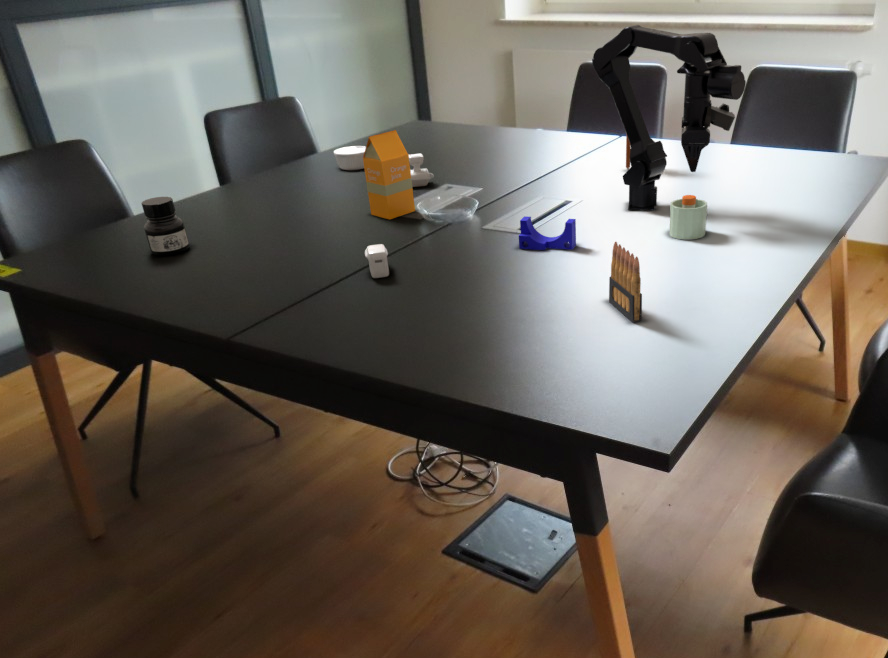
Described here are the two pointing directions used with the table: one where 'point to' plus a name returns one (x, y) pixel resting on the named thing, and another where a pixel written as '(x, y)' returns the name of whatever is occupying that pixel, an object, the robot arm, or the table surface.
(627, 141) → the magnifying glass
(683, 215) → the pen holder
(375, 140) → the orange juice
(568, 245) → the blue mounting bracket
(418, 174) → the stamp
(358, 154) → the ramekin
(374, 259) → the power adapter
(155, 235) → the ink bottle
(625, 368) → the table surface
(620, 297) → the ammunition clip
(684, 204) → the glue stick
